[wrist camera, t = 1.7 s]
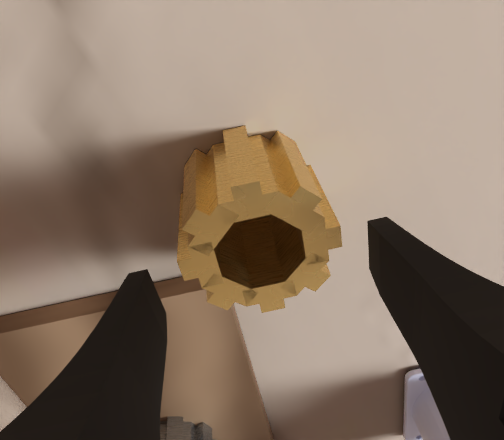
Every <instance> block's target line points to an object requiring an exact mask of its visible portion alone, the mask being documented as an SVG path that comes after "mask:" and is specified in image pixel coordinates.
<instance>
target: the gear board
mask: <svg viewBox="0 0 504 440" xmlns="http://www.w3.org/2000/svg"><path fill="white" fill-rule="evenodd" d="M153 284H154V286H155V288H156V290H157V293H158V295H159V297H160V300H161V302H162V304H163V306H164V309H165V311H166V317H167V351H166V361H165V371H164V381H163V390H162V400H161V413H160V421H167V417H168V416H180V417H183V422H192V423H194V424H195V425H198V424H200V423H202V422H204V423H205V424H207V425H208V426H210V427H211V428H212V439H217V440H274V438H273V434H272V431H271V428H270V424H269V421H268V418H267V414H266V411H265V408H264V404H263V401H262V398H261V394H260V391H259V388H258V384H257V381H256V378H255V374H254V371H253V368H252V364H251V361H250V358H249V354H248V351H247V348H246V344H245V341H244V338H243V334H242V331H241V328H240V324H239V321H238V318H237V314H236V311H235V308H234V304H233V305H232V306H231V307H230V308H229V310H225V309H223V308H220V307H218V306H215V305H213V304H210V303H208V302H207V291H206V290H205V289H203V288H202V287H201V284H200V281H199V278H195V279H191V280H186V281H184V279H183V277H179V278H175V279H170V280H165V281H161V282H156V283H153ZM117 292H118V291H115V292H110V293H106V294H101V295H96V296H92V297H87V298H83V299H78V300H73V301H69V302H64V303H60V304H55V305H50V306H46V307H41V308H37V309H32V310H27V311H23V312H18V313H14V314H9V315H4V316H0V376H1V377H2V378H3V379H4V381H5V382H6V383H7V384H8V385H9V386H10V388H11V389H12V390H13V391H14V392H15V393H16V395H17V396H18V397H19V398H20V399H21V400H22V402H23V403H24V404H25V405H26V406H27V407H28V406H29V405H30V404H31V403H32V402H33V401H34V400H35V399H36V398H37V397H38V396H39V395H40V394H41V393H42V392H43V391H44V390H45V389H46V388H47V387H48V385H49V384H50V383H51V382H52V381H53V380H54V379H55V378H56V377H57V376H58V375H59V374H60V372H61V371H62V370H63V369H64V368H65V367H66V365H67V364H68V363H69V362H70V361H71V359H72V358H73V357H74V356H75V354H76V353H77V352H78V350H79V349H80V348H81V346H82V345H83V344H84V342H85V341H86V339H87V338H88V337H89V335H90V334H91V332H92V331H93V330H94V328H95V327H96V325H97V324H98V322H99V321H100V319H101V317H102V316H103V314H104V313H105V311H106V310H107V308H108V306H109V305H110V303H111V302H112V300H113V298H114V297H115V295H116V293H117Z"/></svg>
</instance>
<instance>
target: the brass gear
mask: <svg viewBox="0 0 504 440" xmlns="http://www.w3.org/2000/svg"><path fill="white" fill-rule="evenodd" d="M223 137H224V143H219V144H215V145H213V146H212V147H211V149H210V150H209V152H208V153H207V155H206V154H204V153H202V152H201V151H199V150H197V149H195V151H194V152H193V154H192V155H191V157H190V158H189V160H188V161H187V163H186V164H185V166H184V187H183V193H182V194H181V196H180V215H179V234H178V252H177V263H178V265H179V268H180V271H181V273H182V276H183V279H184V281H186V280H191V279H195V278H199V281H200V284H201V287H202V288H203V289H205V290H206V291H207V302H208V303H210V304H213V305H215V306H218V307H220V308H223V309H225V310H229V308H230V307H231V306H232V305H233V304H234V302H237V303H239V304H242V305H244V306H251V305H255V304H260V307H261V311H262V313H263V312H268V311H273V310H277V309H282V308H285V304H284V299H283V298H288V297H293V296H297V295H298V294H299V292H300V291H301V290H302V289H303V288H304V287H307V288H309V289H311V290H313V291H316V290H317V289H318V288H319V287H320V286H321V285H322V284H323V283H324V282H325V281H326V280H327V279H328V278H329V277H330V276H331V275H330V272H329V270H328V267H327V265H326V263H327V262H328V261H329V254H328V250H329V249H333V248H338V247H342V239H341V228H340V224H339V222H338V220H337V218H336V216H335V214H334V212H333V210H332V208H331V206H330V204H329V202H328V200H327V198H326V196H325V194H324V192H323V190H322V188H321V186H320V184H319V181H318V179H317V177H316V175H315V173H314V171H313V169H312V167H311V165H310V166H306V164H305V161H304V159H303V157H302V155H301V153H300V151H299V149H298V147H297V145H296V142H295V141H293V140H292V139H290V138H288V137H287V136H285V135H284V134H282V133H280V132H279V131H277V132H276V133H275V135H274V136H273V137H272V139H271V140H268V139H267V138H265V137H263V136H262V135H255V136H251V137H248V135H247V131H246V127H245V126H241V127H236V128H232V129H227V130H223Z"/></svg>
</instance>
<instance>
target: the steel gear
mask: <svg viewBox="0 0 504 440" xmlns="http://www.w3.org/2000/svg"><path fill="white" fill-rule="evenodd" d="M160 440H217V439H212V428H211V427H210V426H208V425H207V424H205V423H204V422H202V423H200V424H198V425H195V424H194V423H192V422H183V417H180V416H168V417H167V421H160Z"/></svg>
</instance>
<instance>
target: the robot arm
mask: <svg viewBox="0 0 504 440" xmlns="http://www.w3.org/2000/svg"><path fill="white" fill-rule="evenodd" d="M368 245H369V269H370V271H371V274H372V276H373V279H374V282H375V284H376V286H377V289H378V291H379V294H380V296H381V298H382V299H383V301H384V303H385V305H386V307H387V308H388V310H389V312H390V314H391V316H392V317H393V319H394V321H395V323H396V324H397V326H398V328H399V330H400V331H401V333H402V335H403V337H404V338H405V340H406V342H407V344H408V345H409V347H410V349H411V351H412V352H413V354H414V356H415V358H416V360H417V362H418V364H419V366H420V369H415V370H411V371H409V372H407V374H406V375H405V390H404V426H403V436H404V439H405V440H504V286H501V285H499V284H497V283H494V282H492V281H490V280H488V279H486V278H484V277H482V276H480V275H478V274H476V273H473V272H472V271H470V270H468V269H466V268H464V267H462V266H460V265H459V264H457V263H455V262H453V261H452V260H450V259H448V258H446V257H445V256H443V255H441V254H440V253H438V252H437V251H435V250H434V249H432V248H431V247H429V246H428V245H426V244H424V243H423V242H422V241H420V240H419V239H417V238H416V237H414V236H413V235H411V234H410V233H409V232H407V231H406V230H404V229H403V228H402V227H400V226H399V225H397V224H396V223H395V222H393V221H392V220H390V219H389V218H387V217H383V218H379V219H374V220H370V221H368ZM166 351H167V317H166V311H165V309H164V306H163V304H162V302H161V300H160V297H159V295H158V293H157V290H156V288H155V286H154V284H153V281H152V279H151V277H150V274H149V272H148V270H142V271H138V272H133V273H129V274H128V276H127V277H126V279H125V280H124V282H123V283H122V285H121V287H120V288H119V290H118V292H117V293H116V295H115V297H114V298H113V300H112V302H111V303H110V305H109V306H108V308H107V310H106V311H105V313H104V314H103V316H102V317H101V319H100V321H99V322H98V324H97V325H96V327H95V328H94V330H93V331H92V332H91V334H90V335H89V337H88V338H87V339H86V341H85V342H84V344H83V345H82V346H81V348H80V349H79V350H78V352H77V353H76V354H75V356H74V357H73V358H72V359H71V361H70V362H69V363H68V364H67V365H66V367H65V368H64V369H63V370H62V371H61V372H60V374H59V375H58V376H57V377H56V378H55V379H54V380H53V381H52V382H51V383H50V384H49V385H48V387H47V388H46V389H45V390H44V391H43V392H42V393H41V394H40V395H39V396H38V397H37V398H36V399H35V400H34V401H33V402H32V403H31V404H30V405H29V406H28V407H27V408H26V409H25V410H24V411H23V412H22V413H21V414H20V415H19V416H17V417H16V418H15V419H14V420H13V421H12V422H11V423H10V424H9V425H7V426H6V427H5V428H4V429H3V430H2V431H1V432H0V440H160V413H161V400H162V390H163V381H164V371H165V361H166Z"/></svg>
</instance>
